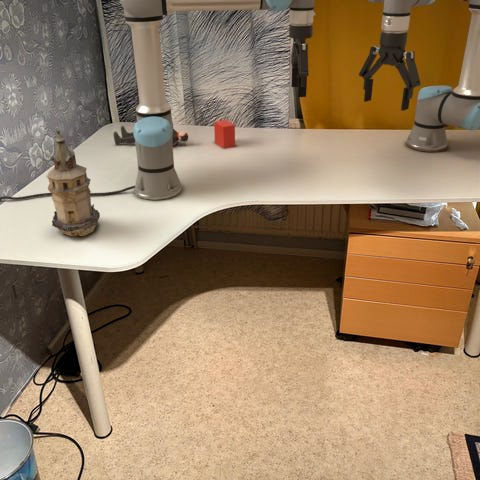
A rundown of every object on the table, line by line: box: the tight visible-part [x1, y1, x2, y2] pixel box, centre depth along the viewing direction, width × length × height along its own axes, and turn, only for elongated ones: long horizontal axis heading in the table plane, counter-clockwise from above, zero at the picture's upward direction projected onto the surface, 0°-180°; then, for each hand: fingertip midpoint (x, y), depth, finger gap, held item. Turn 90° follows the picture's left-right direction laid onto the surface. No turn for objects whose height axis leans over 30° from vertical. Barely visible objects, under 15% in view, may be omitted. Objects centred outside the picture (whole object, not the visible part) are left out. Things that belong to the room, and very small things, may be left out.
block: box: [213, 119, 236, 149], centre depth 216 cm, size 5×8×9 cm, turn 29°
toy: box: [113, 125, 189, 146], centre depth 218 cm, size 26×6×30 cm
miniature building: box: [46, 129, 101, 237], centre depth 148 cm, size 13×14×30 cm
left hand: (298, 91), depth 180 cm, fingers open, 13 cm apart
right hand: (385, 105), depth 164 cm, fingers open, 13 cm apart
